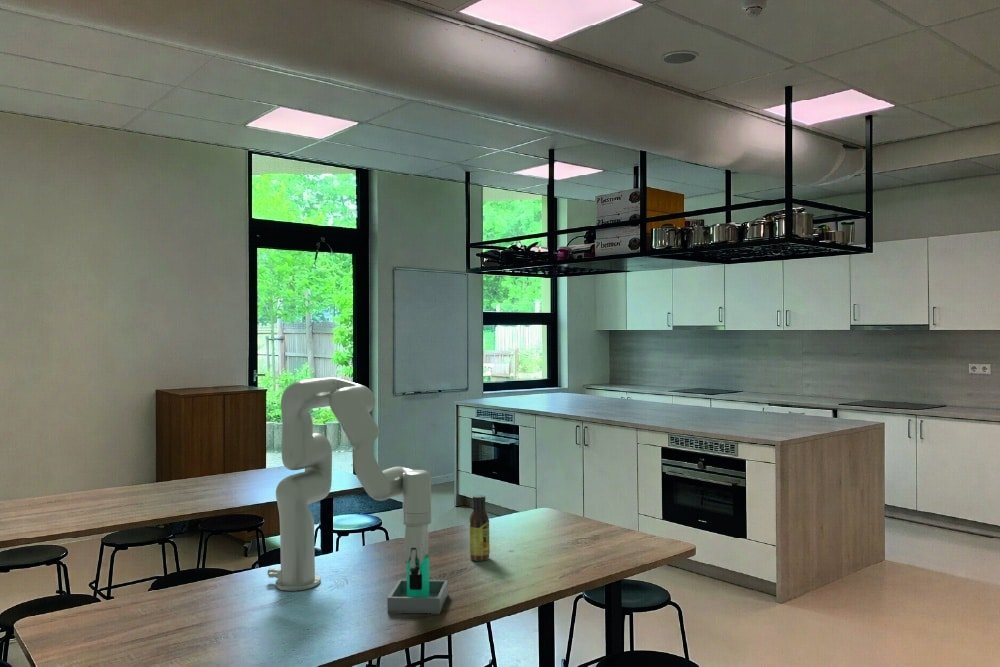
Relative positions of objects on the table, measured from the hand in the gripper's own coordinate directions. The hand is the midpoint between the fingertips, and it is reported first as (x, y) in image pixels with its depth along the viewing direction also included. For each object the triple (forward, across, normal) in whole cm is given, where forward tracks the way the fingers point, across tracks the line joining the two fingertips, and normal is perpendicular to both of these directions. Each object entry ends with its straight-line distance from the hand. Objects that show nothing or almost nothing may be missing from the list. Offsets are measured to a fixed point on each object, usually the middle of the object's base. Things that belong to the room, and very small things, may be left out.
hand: (417, 584), depth 195 cm
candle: (+3, 0, 0) cm, 3 cm away
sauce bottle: (+5, -38, +12) cm, 41 cm away
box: (+5, 0, 0) cm, 5 cm away
